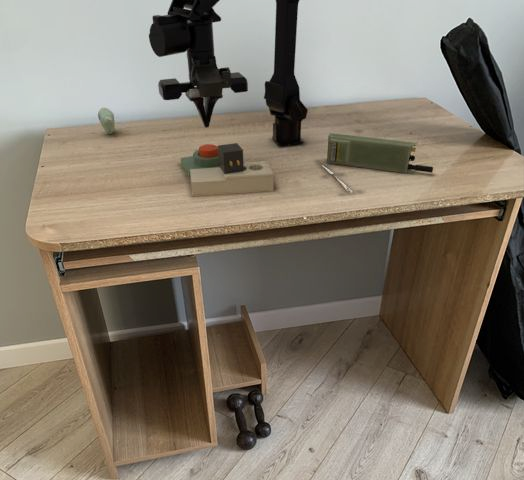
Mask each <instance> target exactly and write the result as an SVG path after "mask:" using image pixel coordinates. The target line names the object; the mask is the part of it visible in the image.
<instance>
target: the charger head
mask: <svg viewBox="0 0 524 480" xmlns="http://www.w3.org/2000/svg"><path fill="white" fill-rule="evenodd" d="M217 147H218V158H219V167H220V168H221V170H222V171H223V172H224V174H227V173H234V172H241V171H244V163H243V162H244V149H243V148H242V147H241V146H240V144H239V143H237V142H233V143H227V144H221V145H217Z"/></svg>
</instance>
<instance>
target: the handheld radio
mask: <svg viewBox="0 0 524 480" xmlns="http://www.w3.org/2000/svg"><path fill="white" fill-rule="evenodd" d="M417 144H418V142H413V141H405V140H398V139H397V140H395V139H387V138H377V137H371V136H369V137H368V136H361V135H360V136H359V135H351V134H344V133H343V134H342V133H333V132H330V133H329V134H328V137H327V153H326V154H327V155H326V163H327V164H331V165H332V164H333V165H339V166H348V167H354V168H364V169H371V170H378V171H387V172H393V173H401V174H402V173H403V174H412V172H413V171H417V172H423V173H433V171H434V167H433V166H430V165H422V164H412V163H410V162H414V161H415V160H416V155H414V154H412V152H413V153H415V152H416V151H417V148H416V146H417Z"/></svg>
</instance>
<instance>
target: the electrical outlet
mask: <svg viewBox="0 0 524 480" xmlns="http://www.w3.org/2000/svg"><path fill="white" fill-rule="evenodd" d="M243 163H244V171H241V172H234V173H227V174H224V172H223V171H222V170H221V168H220V167H217V168H202V169H190V176H191V179H190V185H191V195H192V197H199V196H200V197H201V196H212V195H215V196H216V195H229V194H245V193H256V192H258V193H260V192H272V191H273V192H274V190H275V189H274V188H275V178H274V177H275V173H274V171H273V168H272V165H271V163H270V161H269V160H260V161H243Z"/></svg>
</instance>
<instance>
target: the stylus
mask: <svg viewBox="0 0 524 480" xmlns="http://www.w3.org/2000/svg"><path fill="white" fill-rule="evenodd" d="M321 166H322V167H323V168H324V169H325V170H326V171H327V172H328V173H329V174H330V175H333V176H334V177H335V179H336V180H337V181H338V182H339V183H340V185H341V186H342V187H343V188H344V190H345V191H346V192H347V193H348V194H350V193H351V194H353V189H351V188H350V187H348V186H347V185H346V184H345V183H344V182H343V181H341V180H340V178H338V176H336V175H335V173H334V172H333V170H332V171H331V170H330V169H329V168H327V167H326V166H325V165H321Z"/></svg>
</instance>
